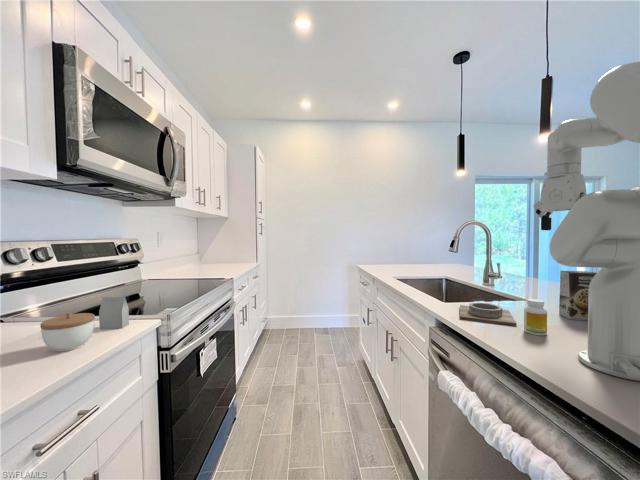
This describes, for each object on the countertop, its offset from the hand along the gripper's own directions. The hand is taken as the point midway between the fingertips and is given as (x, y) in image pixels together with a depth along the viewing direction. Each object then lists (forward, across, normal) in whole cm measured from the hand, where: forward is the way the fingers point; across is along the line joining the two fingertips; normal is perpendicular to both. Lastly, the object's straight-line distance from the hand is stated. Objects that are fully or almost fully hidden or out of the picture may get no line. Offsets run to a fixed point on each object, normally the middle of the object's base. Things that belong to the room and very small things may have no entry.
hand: (562, 230), depth 81 cm
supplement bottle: (+31, -1, -8) cm, 32 cm away
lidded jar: (+31, -17, -140) cm, 144 cm away
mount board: (+31, -18, -10) cm, 37 cm away
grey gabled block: (+31, -33, -137) cm, 144 cm away
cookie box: (+31, -9, +20) cm, 38 cm away
